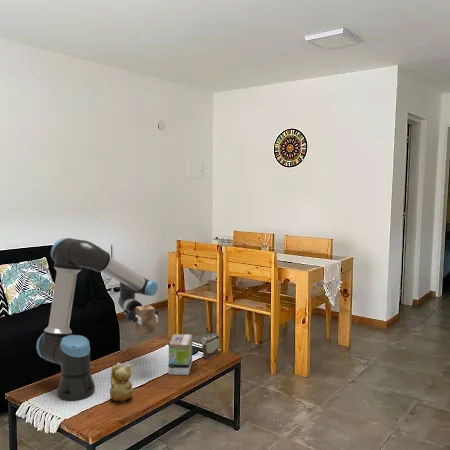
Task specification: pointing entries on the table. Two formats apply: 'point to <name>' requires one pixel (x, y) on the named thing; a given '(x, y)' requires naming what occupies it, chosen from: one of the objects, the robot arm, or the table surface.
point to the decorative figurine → (121, 383)
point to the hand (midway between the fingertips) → (149, 320)
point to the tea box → (180, 354)
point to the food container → (210, 345)
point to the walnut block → (146, 319)
